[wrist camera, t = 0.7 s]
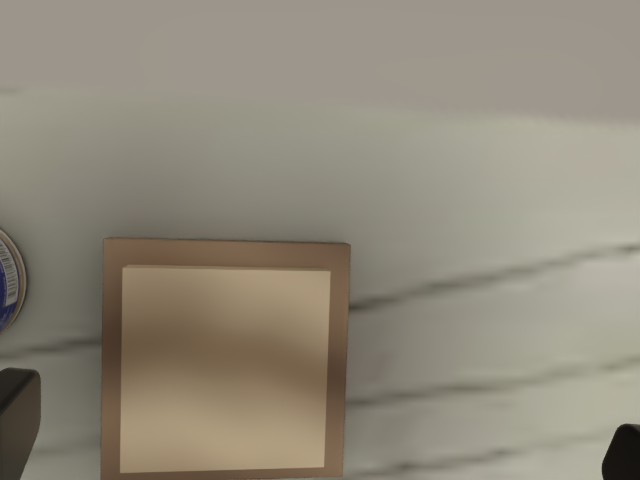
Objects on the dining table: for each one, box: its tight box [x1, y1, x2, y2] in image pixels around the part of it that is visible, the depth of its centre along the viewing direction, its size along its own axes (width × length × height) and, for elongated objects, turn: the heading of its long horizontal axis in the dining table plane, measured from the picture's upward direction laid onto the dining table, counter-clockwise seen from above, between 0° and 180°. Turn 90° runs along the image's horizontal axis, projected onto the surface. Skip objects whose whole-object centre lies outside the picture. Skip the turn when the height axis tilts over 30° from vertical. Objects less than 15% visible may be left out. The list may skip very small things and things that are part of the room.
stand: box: [101, 237, 351, 480], centre depth 24 cm, size 10×10×2 cm
